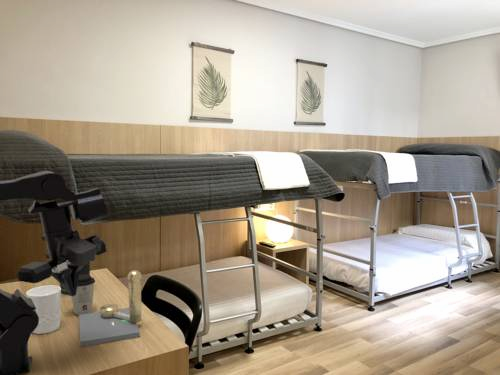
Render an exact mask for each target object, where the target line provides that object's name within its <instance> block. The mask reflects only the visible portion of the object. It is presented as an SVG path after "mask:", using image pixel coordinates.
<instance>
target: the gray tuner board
mask: <svg viewBox="0 0 500 375" xmlns="http://www.w3.org/2000/svg"><path fill="white" fill-rule="evenodd" d="M118 312H120V313H125V314H129V307H126V308H125V307H124V308H118ZM78 316H79V317H78V318H79V321H78V322H79V347H80V348H81V347H87V346H92V345H99V344H105V343H111V342H118V341H123V340H129V339H136V338H140V337H141V336H140V335H141V332H140V330H139V327H138V323H131V322H130V320H126V319H121V318H117V317H111V318H103V317H101V311H97V312H90V313H88V314H81V315H78Z"/></svg>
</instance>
